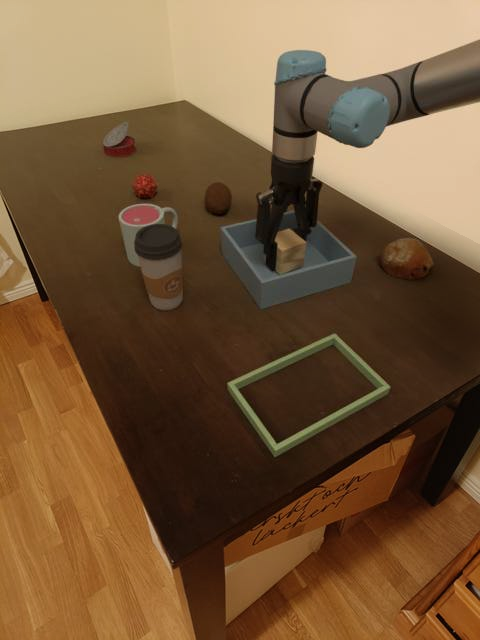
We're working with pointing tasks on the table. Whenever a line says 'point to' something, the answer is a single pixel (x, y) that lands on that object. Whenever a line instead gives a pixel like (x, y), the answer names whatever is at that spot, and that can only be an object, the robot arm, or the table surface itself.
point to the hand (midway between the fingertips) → (283, 261)
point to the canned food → (119, 142)
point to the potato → (218, 198)
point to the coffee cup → (161, 264)
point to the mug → (141, 224)
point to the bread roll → (406, 259)
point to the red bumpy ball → (144, 186)
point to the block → (289, 251)
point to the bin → (314, 276)
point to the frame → (322, 424)
